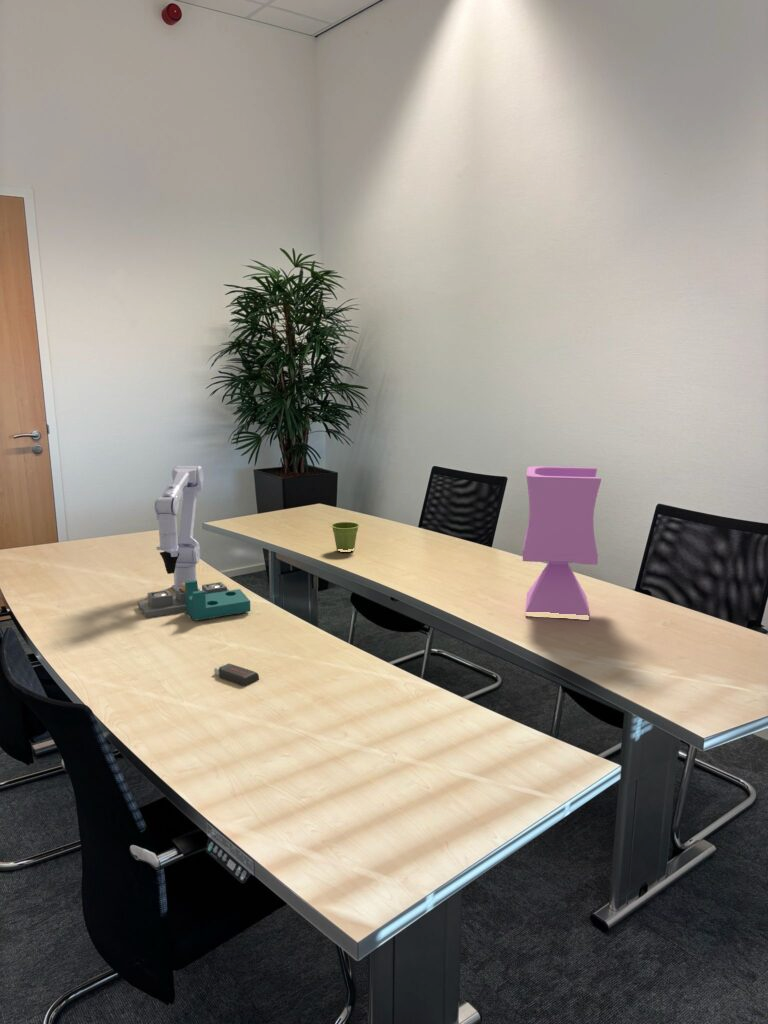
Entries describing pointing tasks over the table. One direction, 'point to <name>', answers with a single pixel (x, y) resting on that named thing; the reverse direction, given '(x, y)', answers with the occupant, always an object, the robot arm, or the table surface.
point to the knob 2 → (213, 586)
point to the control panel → (171, 601)
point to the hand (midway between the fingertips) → (170, 573)
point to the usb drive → (236, 674)
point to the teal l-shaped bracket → (213, 602)
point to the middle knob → (183, 587)
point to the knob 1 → (159, 594)
